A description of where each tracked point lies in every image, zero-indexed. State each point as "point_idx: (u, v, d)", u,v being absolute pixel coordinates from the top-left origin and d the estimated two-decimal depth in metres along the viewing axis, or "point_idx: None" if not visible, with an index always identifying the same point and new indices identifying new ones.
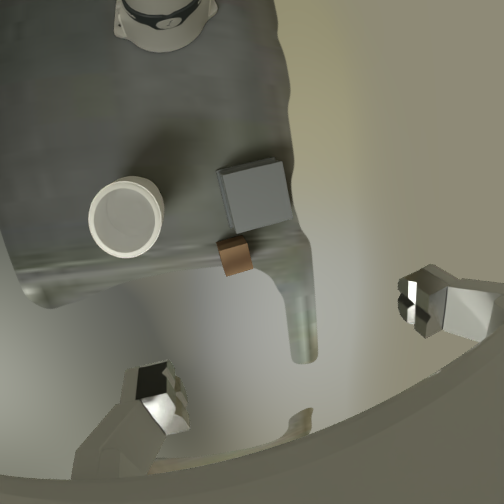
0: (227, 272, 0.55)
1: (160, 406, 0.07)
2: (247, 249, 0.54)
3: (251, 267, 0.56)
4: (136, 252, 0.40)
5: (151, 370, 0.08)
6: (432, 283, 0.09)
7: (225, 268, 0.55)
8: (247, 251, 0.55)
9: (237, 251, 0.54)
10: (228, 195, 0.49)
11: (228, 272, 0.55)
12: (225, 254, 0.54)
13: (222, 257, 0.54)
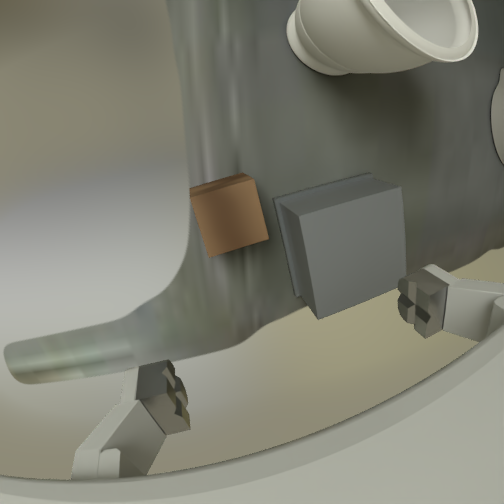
0: (200, 200, 0.23)
1: (160, 406, 0.07)
2: (254, 240, 0.25)
3: (212, 253, 0.25)
4: None
5: (151, 370, 0.08)
6: (432, 283, 0.09)
7: (210, 194, 0.23)
8: (250, 241, 0.25)
9: (251, 219, 0.24)
10: (370, 197, 0.24)
11: (200, 202, 0.23)
12: (245, 193, 0.23)
13: (238, 186, 0.23)
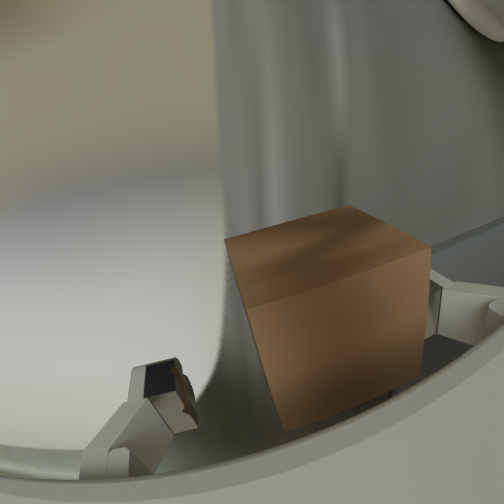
0: (280, 314, 0.07)
1: (168, 404, 0.07)
2: (392, 386, 0.09)
3: (292, 425, 0.09)
4: None
5: (159, 368, 0.08)
6: None
7: (314, 297, 0.07)
8: (383, 389, 0.09)
9: (399, 347, 0.08)
10: None
11: (279, 321, 0.07)
12: (404, 286, 0.07)
13: (393, 270, 0.07)
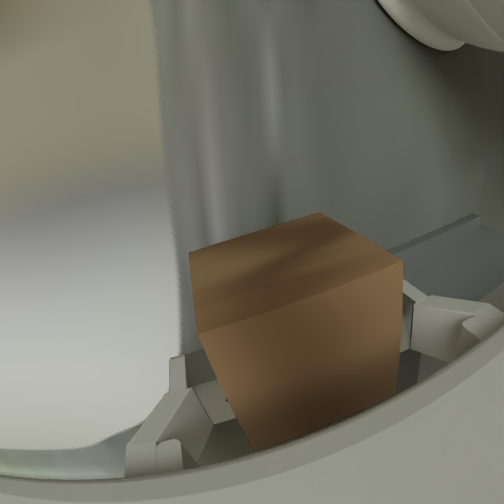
0: (234, 338, 0.07)
1: (212, 393, 0.08)
2: (366, 403, 0.09)
3: (261, 444, 0.08)
4: None
5: (199, 357, 0.08)
6: None
7: (270, 320, 0.07)
8: (356, 407, 0.08)
9: (371, 365, 0.08)
10: None
11: (234, 344, 0.07)
12: (373, 304, 0.07)
13: (359, 287, 0.07)
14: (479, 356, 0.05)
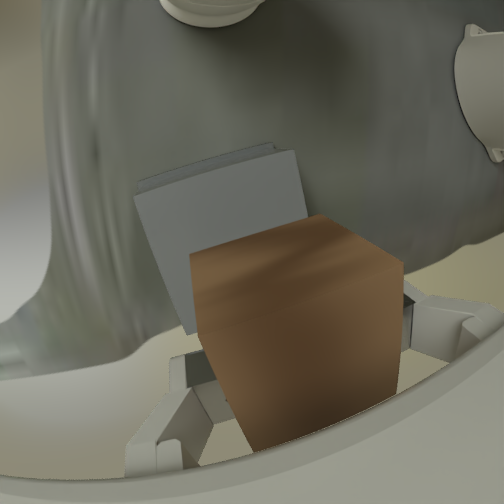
0: (235, 340, 0.06)
1: (212, 393, 0.08)
2: (367, 405, 0.09)
3: (262, 445, 0.08)
4: None
5: (199, 357, 0.08)
6: None
7: (271, 322, 0.07)
8: (357, 408, 0.08)
9: (372, 367, 0.08)
10: (241, 165, 0.18)
11: (234, 347, 0.07)
12: (374, 306, 0.07)
13: (359, 290, 0.07)
14: (479, 356, 0.05)
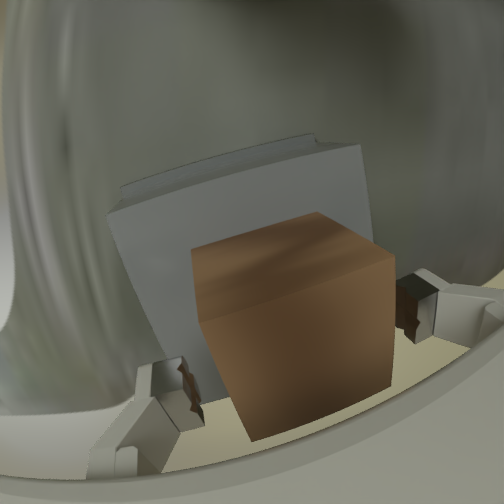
0: (233, 327, 0.07)
1: (175, 402, 0.08)
2: (362, 396, 0.09)
3: (259, 435, 0.08)
4: None
5: (165, 366, 0.08)
6: (422, 288, 0.09)
7: (268, 311, 0.07)
8: (352, 399, 0.09)
9: (366, 358, 0.08)
10: (282, 165, 0.11)
11: (233, 334, 0.07)
12: (367, 297, 0.07)
13: (352, 281, 0.07)
14: (479, 356, 0.05)
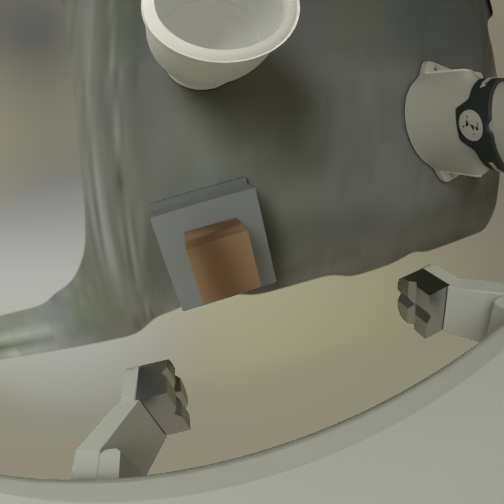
0: (195, 251, 0.24)
1: (160, 406, 0.07)
2: (247, 288, 0.26)
3: (206, 300, 0.25)
4: (151, 12, 0.14)
5: (151, 370, 0.08)
6: (432, 283, 0.09)
7: (205, 246, 0.24)
8: (243, 288, 0.26)
9: (244, 268, 0.25)
10: (220, 199, 0.28)
11: (195, 253, 0.24)
12: (239, 244, 0.24)
13: (232, 238, 0.24)
14: (479, 356, 0.05)
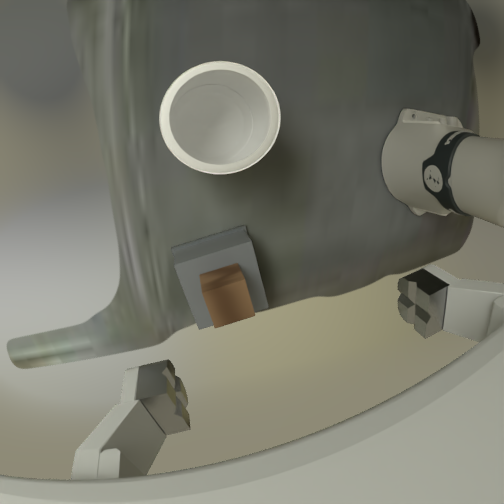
0: (208, 293, 0.34)
1: (160, 406, 0.07)
2: (245, 317, 0.36)
3: (217, 325, 0.36)
4: (168, 133, 0.24)
5: (151, 370, 0.08)
6: (432, 283, 0.09)
7: (215, 290, 0.34)
8: (242, 317, 0.36)
9: (243, 304, 0.36)
10: (225, 250, 0.38)
11: (208, 295, 0.34)
12: (239, 288, 0.35)
13: (234, 284, 0.34)
14: (479, 356, 0.05)
